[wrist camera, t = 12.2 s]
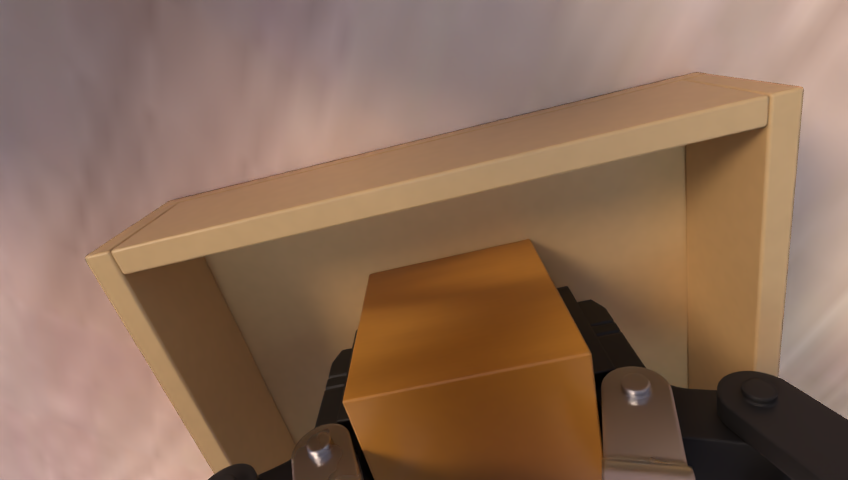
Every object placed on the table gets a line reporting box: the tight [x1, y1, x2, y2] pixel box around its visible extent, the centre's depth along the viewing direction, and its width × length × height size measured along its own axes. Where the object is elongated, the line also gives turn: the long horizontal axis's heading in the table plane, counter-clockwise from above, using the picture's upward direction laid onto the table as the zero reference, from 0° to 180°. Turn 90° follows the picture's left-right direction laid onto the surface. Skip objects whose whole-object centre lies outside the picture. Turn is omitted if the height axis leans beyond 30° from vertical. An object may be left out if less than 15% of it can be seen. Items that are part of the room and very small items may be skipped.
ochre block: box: [343, 239, 603, 480], centre depth 11 cm, size 5×5×5 cm
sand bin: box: [85, 72, 804, 475], centre depth 13 cm, size 14×11×4 cm
